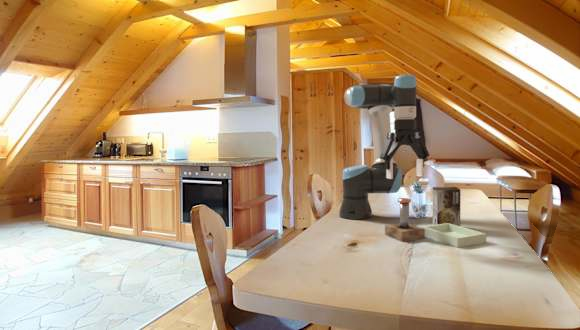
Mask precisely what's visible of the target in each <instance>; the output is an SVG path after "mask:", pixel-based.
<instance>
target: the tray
mask: <svg viewBox="0 0 580 330" xmlns="http://www.w3.org/2000/svg"><path fill="white" fill-rule="evenodd" d="M420 227H421V228H424V229H425V237H426V238H430V239H432V240H435V241H438V242H440V243H443V244H446V245H449V246H452V247H455V248H462V247H468V246H473V245H479V244H484V243H485V244H486V243H487V233H484V232H481V231H477V230H474V229H471V228H467V227H464V226H461V225H460V226H457V225H453V224H450V223H444V224H437V225H433V224H431V225H425V226H424V225H423V226H420Z"/></svg>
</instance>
